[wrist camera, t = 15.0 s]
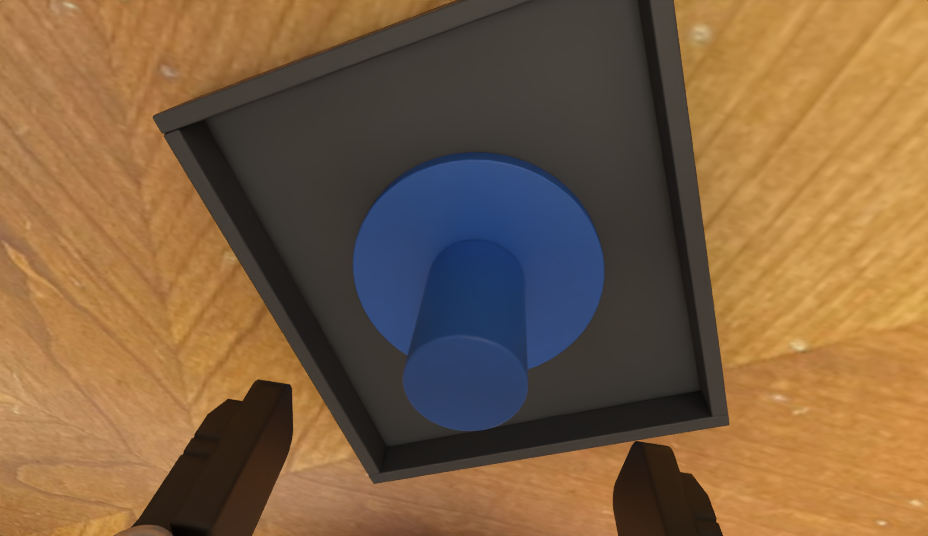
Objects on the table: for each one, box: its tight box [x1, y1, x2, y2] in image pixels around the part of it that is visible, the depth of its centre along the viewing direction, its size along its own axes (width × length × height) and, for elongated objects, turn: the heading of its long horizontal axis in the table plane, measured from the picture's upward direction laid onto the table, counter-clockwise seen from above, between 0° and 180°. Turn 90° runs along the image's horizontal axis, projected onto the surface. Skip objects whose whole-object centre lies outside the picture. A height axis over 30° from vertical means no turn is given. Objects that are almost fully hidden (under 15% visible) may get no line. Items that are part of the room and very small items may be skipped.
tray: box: [153, 0, 729, 484], centre depth 19 cm, size 17×15×2 cm
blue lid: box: [353, 152, 604, 431], centre depth 17 cm, size 9×9×6 cm
